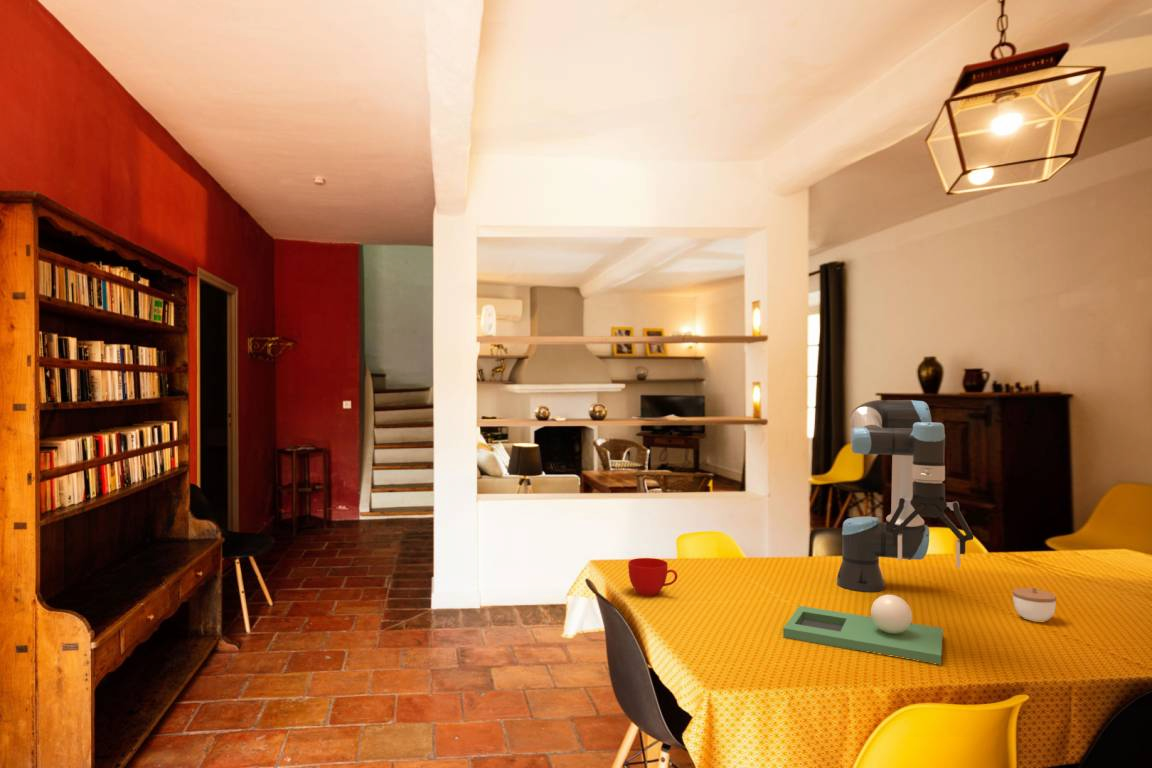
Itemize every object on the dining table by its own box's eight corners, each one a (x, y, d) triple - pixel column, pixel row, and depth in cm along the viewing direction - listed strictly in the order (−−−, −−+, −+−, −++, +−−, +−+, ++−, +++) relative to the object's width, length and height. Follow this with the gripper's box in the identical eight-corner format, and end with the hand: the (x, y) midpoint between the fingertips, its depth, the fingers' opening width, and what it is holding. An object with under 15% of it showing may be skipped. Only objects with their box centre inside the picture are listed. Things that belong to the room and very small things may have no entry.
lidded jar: (1004, 613, 207) (1004, 582, 207) (1037, 613, 208) (1037, 582, 208) (1030, 626, 196) (1030, 593, 196) (1065, 625, 197) (1065, 592, 197)
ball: (886, 623, 190) (886, 587, 190) (920, 635, 181) (920, 597, 182) (862, 630, 185) (863, 593, 185) (896, 642, 176) (896, 603, 176)
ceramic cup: (668, 603, 215) (668, 571, 215) (621, 594, 224) (621, 564, 224) (684, 593, 226) (685, 562, 226) (639, 585, 235) (639, 556, 235)
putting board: (942, 637, 187) (942, 628, 187) (941, 665, 168) (941, 655, 168) (799, 614, 205) (799, 605, 205) (783, 637, 186) (783, 628, 186)
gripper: (874, 479, 182) (874, 559, 181) (983, 486, 169) (984, 572, 168) (879, 476, 188) (879, 554, 188) (984, 483, 175) (984, 566, 175)
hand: (928, 563), depth 178 cm, fingers open, 13 cm apart
